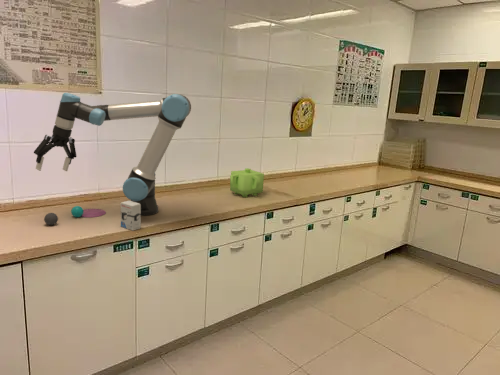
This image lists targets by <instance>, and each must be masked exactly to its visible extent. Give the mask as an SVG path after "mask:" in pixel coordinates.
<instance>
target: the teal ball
mask: <svg viewBox="0 0 500 375" xmlns="http://www.w3.org/2000/svg"><path fill="white" fill-rule="evenodd" d="M83 213H84V208H83V207H82V206H80V205H75V206H73V207H72V208H71V211H70V214H71V215H72V216H73V218H82V217H81V216H82V215H83Z"/></svg>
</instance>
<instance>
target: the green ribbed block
mask: <svg viewBox="0 0 500 375" xmlns="http://www.w3.org/2000/svg"><path fill="white" fill-rule="evenodd" d="M264 178H265V174H264V173H263V172H261V171H260V172H259V171H256V170H253V169H251V168H244V170H231V172H230V175H229V179H230V182H229V186H230V187H229V188H230V189H229V191H231V192H234V194H235V195H241V196H242V198H248V196H249V195H252V196H253V197H258V196H259V195H258V194H262V193H263V192H264V181H265V179H264Z"/></svg>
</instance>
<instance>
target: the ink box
mask: <svg viewBox="0 0 500 375" xmlns="http://www.w3.org/2000/svg"><path fill="white" fill-rule="evenodd" d="M141 216H142V215H141V204H139V203H136V202H133V201H131V200H127V201H125V200H124V201H122V202H120V227H121V228H124V229H126V230H127V229H128V230H130V231H135V230H139V229H141V228H142V227H141V226H142V219H141V218H142V217H141Z"/></svg>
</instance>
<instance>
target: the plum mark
mask: <svg viewBox="0 0 500 375" xmlns="http://www.w3.org/2000/svg"><path fill="white" fill-rule="evenodd" d="M83 210H84V213H83V215H82V216H81V217H80V218H97V217H102V216H104V215H106V213H107V212H106V211H105V210H104V209H103V208H86V209H85V208H83Z"/></svg>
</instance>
